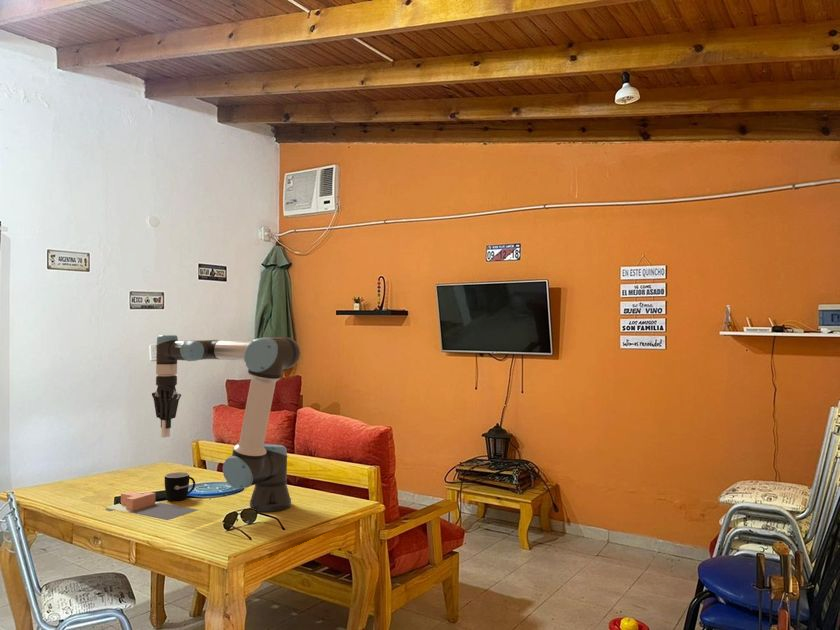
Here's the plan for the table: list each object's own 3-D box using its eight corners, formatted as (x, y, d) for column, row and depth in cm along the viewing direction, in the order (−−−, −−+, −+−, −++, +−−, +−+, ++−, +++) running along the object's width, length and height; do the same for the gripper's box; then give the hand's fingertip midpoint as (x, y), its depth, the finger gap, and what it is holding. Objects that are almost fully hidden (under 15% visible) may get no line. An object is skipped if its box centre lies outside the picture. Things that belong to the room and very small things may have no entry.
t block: (155, 503, 241) (155, 493, 241) (132, 510, 232) (132, 499, 232) (136, 500, 246) (136, 489, 246) (113, 506, 237) (113, 495, 237)
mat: (198, 512, 234) (198, 509, 234) (167, 522, 221) (167, 520, 221) (137, 500, 248) (137, 498, 248) (105, 509, 236) (105, 507, 236)
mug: (171, 505, 241) (171, 478, 242) (159, 501, 247) (160, 474, 247) (200, 499, 250) (201, 473, 251) (188, 495, 256) (189, 469, 256)
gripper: (186, 375, 248) (185, 436, 248) (161, 373, 253) (160, 433, 253) (171, 376, 241) (170, 439, 241) (146, 375, 247) (145, 436, 246)
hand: (165, 436), depth 247 cm, fingers closed
